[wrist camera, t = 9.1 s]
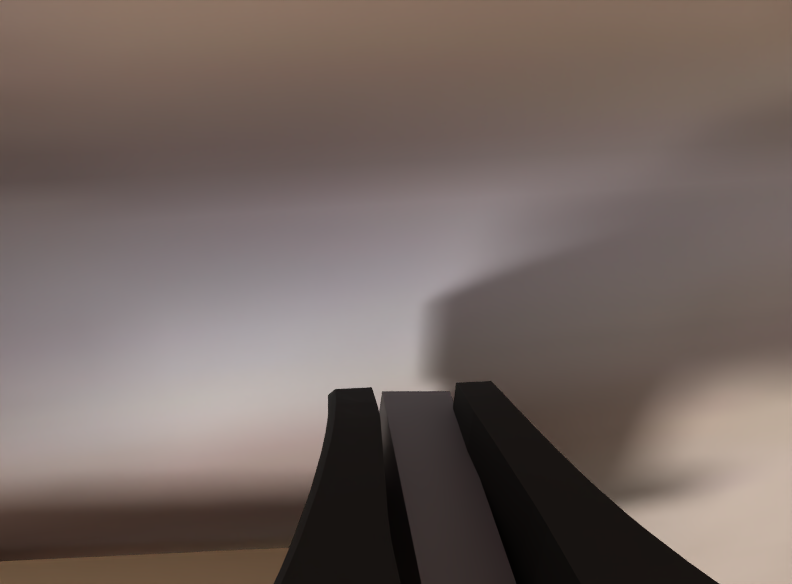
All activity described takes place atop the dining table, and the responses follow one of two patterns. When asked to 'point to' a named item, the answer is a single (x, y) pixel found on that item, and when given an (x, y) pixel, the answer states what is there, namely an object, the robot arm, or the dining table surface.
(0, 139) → the dining table surface
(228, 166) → the dining table surface
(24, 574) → the front flap
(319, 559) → the robot arm
